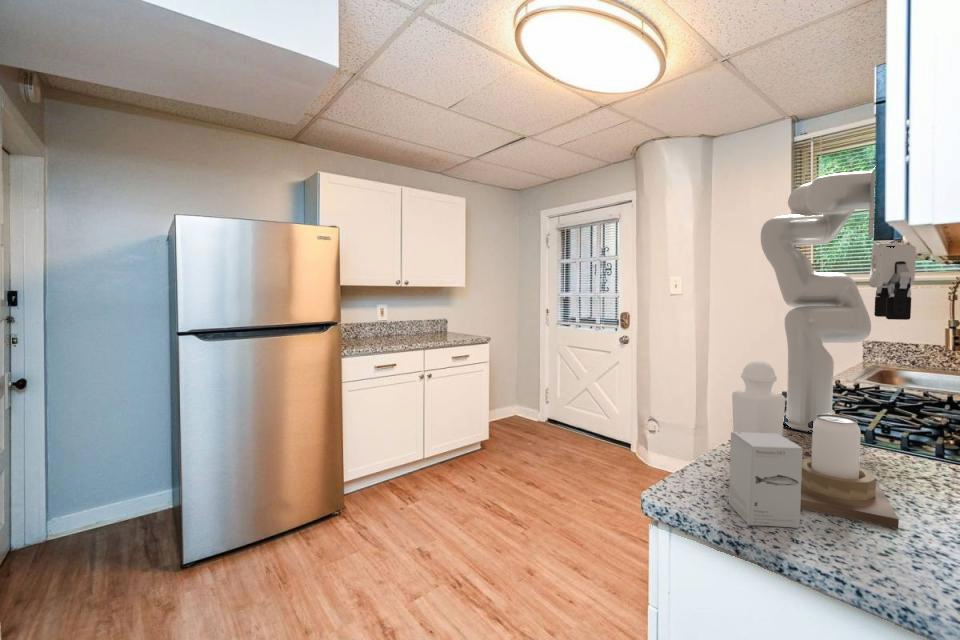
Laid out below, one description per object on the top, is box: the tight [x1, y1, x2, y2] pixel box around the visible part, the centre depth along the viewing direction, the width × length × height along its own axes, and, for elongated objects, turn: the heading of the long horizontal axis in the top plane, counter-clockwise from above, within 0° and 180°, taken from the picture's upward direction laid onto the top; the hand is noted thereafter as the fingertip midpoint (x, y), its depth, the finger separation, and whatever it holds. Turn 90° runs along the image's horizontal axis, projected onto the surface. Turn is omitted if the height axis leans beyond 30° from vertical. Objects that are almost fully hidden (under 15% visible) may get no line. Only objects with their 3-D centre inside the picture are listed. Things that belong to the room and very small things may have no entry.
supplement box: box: [728, 431, 804, 529], centre depth 68 cm, size 7×7×13 cm
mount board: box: [800, 457, 900, 530], centre depth 75 cm, size 18×13×4 cm
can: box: [811, 413, 862, 479], centre depth 75 cm, size 6×6×12 cm
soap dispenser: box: [731, 360, 786, 436], centre depth 86 cm, size 6×6×22 cm
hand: (891, 317), depth 83 cm, fingers open, 9 cm apart
